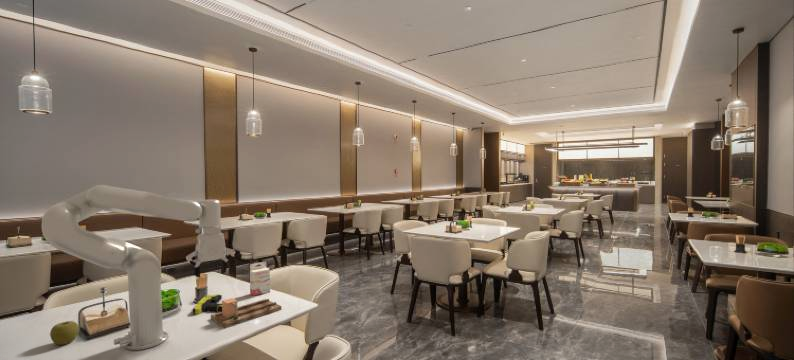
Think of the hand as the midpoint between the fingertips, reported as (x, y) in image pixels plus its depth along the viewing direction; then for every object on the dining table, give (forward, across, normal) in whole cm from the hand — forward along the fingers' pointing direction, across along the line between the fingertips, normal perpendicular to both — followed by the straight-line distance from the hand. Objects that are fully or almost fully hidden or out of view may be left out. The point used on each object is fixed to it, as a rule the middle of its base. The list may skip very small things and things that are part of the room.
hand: (210, 274), depth 143 cm
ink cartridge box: (+20, +31, +21) cm, 42 cm away
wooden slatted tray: (+20, +14, 0) cm, 24 cm away
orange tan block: (+18, +7, -2) cm, 20 cm away
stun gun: (+21, +9, +21) cm, 31 cm away
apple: (+21, -41, +26) cm, 53 cm away
